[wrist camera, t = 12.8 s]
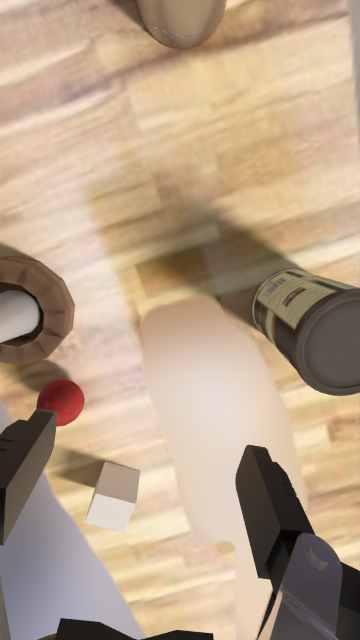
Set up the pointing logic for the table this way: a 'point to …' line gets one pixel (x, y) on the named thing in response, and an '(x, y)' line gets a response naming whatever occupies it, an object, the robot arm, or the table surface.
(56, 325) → the walnut ring
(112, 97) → the table surface
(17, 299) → the salt shaker
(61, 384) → the onion
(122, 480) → the white cube
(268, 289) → the coffee can
